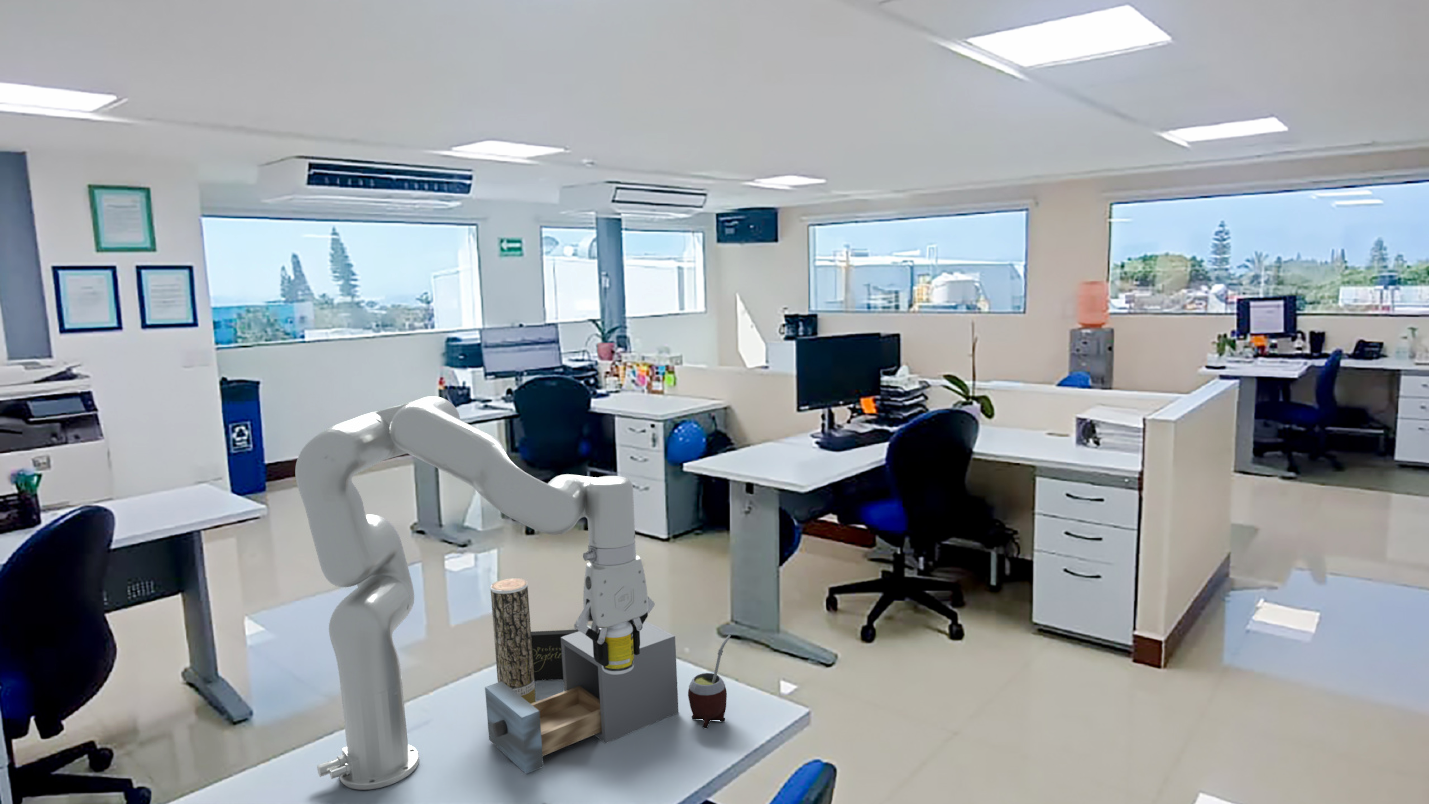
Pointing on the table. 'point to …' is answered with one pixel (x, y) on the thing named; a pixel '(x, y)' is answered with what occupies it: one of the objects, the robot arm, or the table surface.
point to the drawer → (539, 723)
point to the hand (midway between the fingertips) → (617, 656)
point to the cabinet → (626, 681)
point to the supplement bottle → (619, 649)
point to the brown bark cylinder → (513, 636)
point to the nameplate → (548, 654)
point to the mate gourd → (708, 694)
